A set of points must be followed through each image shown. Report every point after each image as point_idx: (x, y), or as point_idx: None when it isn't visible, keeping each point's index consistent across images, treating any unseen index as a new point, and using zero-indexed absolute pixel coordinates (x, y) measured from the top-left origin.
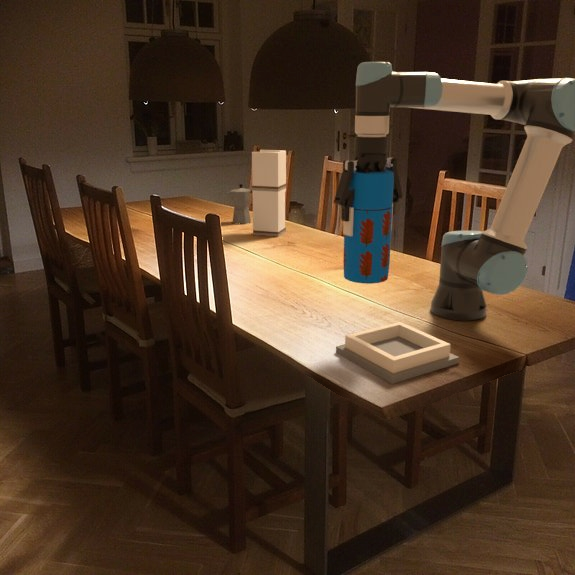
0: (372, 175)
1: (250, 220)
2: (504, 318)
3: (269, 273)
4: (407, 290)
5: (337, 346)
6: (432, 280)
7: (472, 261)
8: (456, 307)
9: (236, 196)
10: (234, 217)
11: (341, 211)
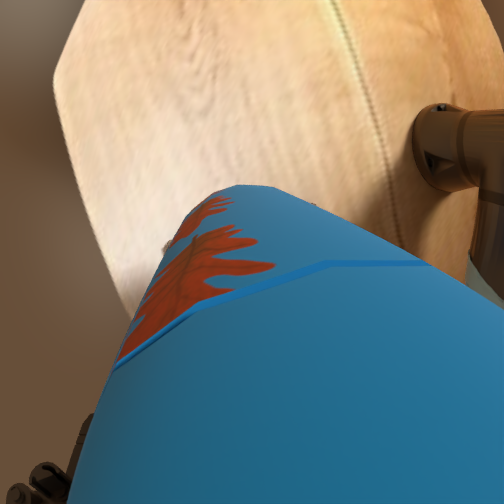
0: None
1: None
2: (470, 199)
3: None
4: (417, 27)
5: (169, 244)
6: (459, 24)
7: (499, 252)
8: (438, 178)
9: None
10: None
11: (71, 457)
